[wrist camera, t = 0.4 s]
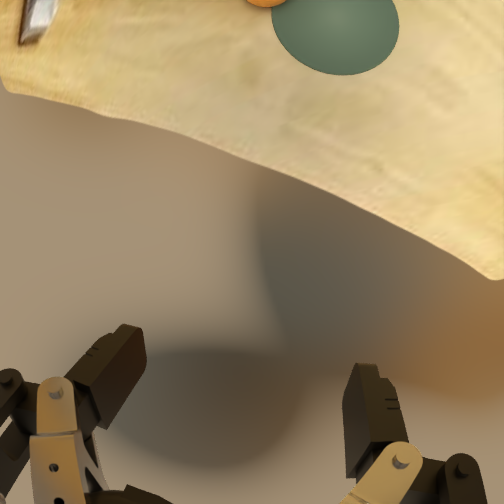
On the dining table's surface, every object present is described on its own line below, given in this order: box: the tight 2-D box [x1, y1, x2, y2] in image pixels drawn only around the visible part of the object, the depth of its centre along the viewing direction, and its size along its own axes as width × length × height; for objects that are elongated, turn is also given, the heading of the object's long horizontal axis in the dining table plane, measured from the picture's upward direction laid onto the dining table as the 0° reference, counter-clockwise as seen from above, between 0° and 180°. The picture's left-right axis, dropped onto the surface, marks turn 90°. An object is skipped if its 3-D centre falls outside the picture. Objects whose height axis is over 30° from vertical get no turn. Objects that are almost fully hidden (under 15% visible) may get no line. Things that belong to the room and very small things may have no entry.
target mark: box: [272, 0, 399, 75], centre depth 24 cm, size 14×14×1 cm
